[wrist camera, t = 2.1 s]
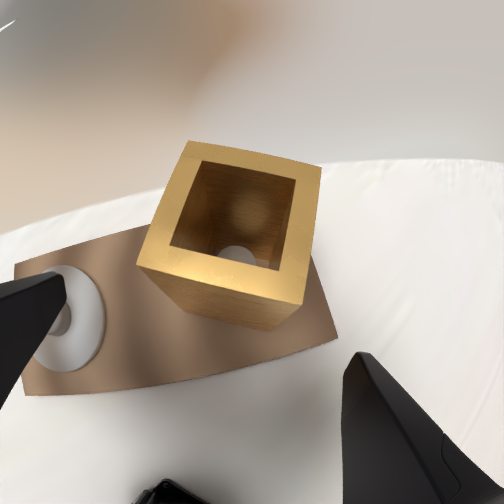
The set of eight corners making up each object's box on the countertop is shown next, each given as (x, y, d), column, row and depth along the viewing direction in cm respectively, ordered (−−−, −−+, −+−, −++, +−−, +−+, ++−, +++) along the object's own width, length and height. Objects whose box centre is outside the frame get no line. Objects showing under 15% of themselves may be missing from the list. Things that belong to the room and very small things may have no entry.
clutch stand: (285, 203, 24) (298, 158, 18) (331, 339, 20) (366, 331, 14) (23, 269, 20) (-16, 245, 15) (35, 395, 16) (-10, 396, 11)
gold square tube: (285, 252, 21) (321, 167, 12) (268, 332, 19) (301, 305, 9) (206, 233, 21) (188, 140, 12) (183, 311, 19) (135, 264, 10)
